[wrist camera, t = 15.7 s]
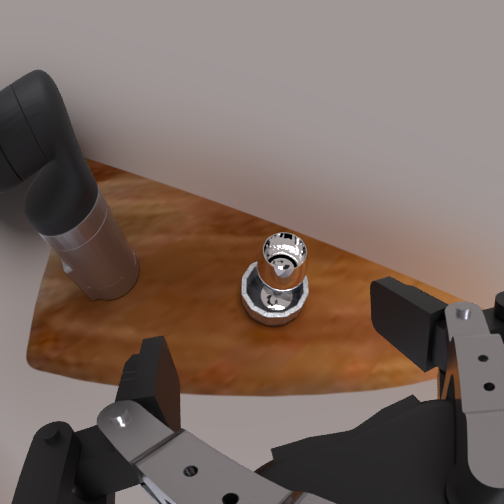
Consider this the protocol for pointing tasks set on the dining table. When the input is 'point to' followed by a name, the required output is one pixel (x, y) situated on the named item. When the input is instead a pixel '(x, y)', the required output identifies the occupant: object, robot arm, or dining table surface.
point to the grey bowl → (259, 310)
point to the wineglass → (281, 269)
